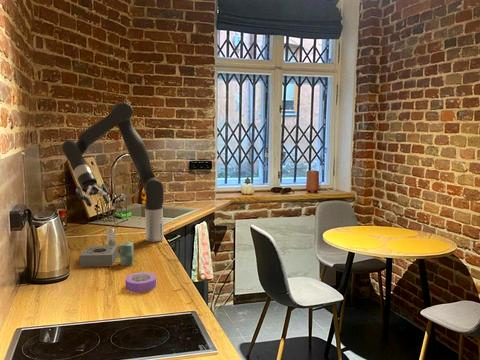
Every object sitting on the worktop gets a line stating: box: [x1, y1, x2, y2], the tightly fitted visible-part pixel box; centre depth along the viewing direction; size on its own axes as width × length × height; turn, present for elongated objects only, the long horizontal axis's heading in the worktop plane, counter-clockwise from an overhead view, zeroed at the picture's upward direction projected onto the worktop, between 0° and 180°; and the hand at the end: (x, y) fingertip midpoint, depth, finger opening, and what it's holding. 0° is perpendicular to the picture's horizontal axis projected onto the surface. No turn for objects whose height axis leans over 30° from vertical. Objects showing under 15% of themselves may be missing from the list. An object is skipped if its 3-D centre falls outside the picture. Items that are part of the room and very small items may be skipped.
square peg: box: [119, 241, 135, 266], centre depth 196 cm, size 5×5×9 cm
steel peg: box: [106, 227, 117, 246], centre depth 215 cm, size 4×4×11 cm
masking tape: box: [124, 272, 157, 293], centre depth 170 cm, size 12×12×4 cm
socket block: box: [79, 245, 119, 267], centre depth 199 cm, size 14×14×5 cm
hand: (99, 204), depth 195 cm, fingers open, 8 cm apart
